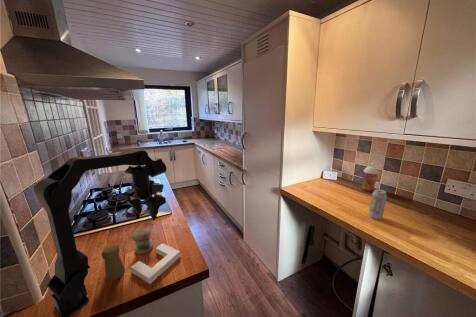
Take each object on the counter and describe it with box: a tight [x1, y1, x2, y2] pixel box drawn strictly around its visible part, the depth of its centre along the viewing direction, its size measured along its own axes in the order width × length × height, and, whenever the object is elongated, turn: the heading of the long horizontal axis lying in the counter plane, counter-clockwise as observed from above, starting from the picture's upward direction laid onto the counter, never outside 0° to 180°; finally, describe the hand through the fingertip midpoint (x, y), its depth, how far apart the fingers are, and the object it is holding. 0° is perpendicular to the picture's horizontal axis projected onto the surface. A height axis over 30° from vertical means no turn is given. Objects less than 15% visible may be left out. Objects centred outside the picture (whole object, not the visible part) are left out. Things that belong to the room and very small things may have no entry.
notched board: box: [130, 242, 181, 285], centre depth 73 cm, size 14×10×2 cm
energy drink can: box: [368, 188, 388, 221], centre depth 100 cm, size 6×6×15 cm
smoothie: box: [361, 161, 379, 193], centre depth 131 cm, size 8×8×20 cm
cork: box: [101, 244, 126, 282], centre depth 68 cm, size 6×6×11 cm
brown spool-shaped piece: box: [131, 227, 154, 256], centre depth 81 cm, size 7×7×8 cm
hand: (147, 216), depth 79 cm, fingers open, 9 cm apart
